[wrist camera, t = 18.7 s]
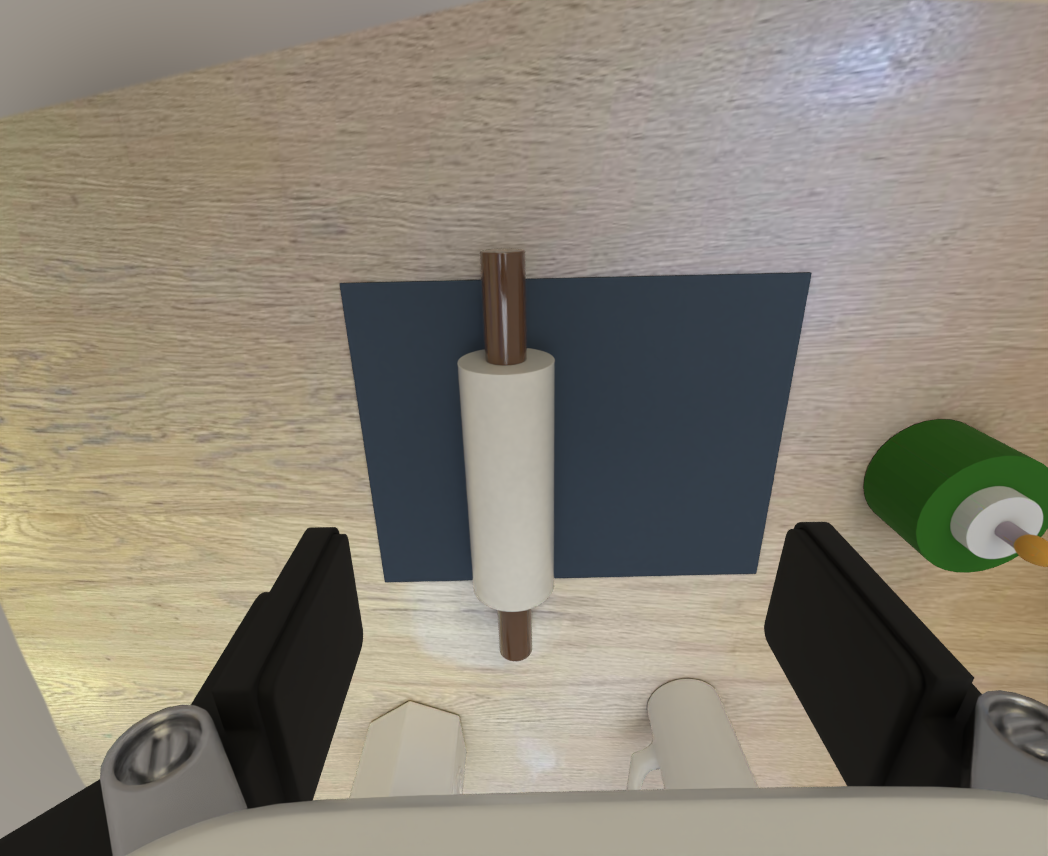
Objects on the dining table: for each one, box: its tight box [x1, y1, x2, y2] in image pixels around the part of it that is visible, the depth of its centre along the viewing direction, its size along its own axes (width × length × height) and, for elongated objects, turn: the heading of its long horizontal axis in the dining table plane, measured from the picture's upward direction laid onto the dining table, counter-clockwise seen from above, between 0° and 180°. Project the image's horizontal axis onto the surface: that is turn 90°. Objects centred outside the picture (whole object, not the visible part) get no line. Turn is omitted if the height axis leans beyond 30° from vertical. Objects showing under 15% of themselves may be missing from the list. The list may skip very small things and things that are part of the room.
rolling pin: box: [457, 248, 555, 661], centre depth 34 cm, size 28×6×6 cm
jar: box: [349, 701, 467, 798], centre depth 42 cm, size 9×8×12 cm
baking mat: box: [340, 272, 811, 582], centre depth 37 cm, size 28×22×1 cm
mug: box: [627, 679, 759, 790], centre depth 41 cm, size 10×7×12 cm, turn 119°
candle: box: [864, 419, 1048, 572], centre depth 33 cm, size 8×8×10 cm
